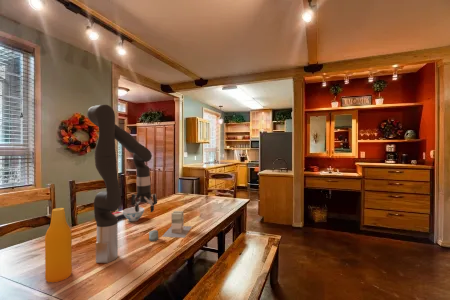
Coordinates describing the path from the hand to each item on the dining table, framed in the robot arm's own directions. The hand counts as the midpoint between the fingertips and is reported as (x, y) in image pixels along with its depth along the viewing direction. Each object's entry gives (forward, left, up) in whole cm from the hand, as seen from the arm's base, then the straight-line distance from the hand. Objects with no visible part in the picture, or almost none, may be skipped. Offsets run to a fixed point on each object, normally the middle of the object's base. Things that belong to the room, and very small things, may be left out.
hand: (144, 211), depth 132 cm
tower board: (+15, -15, -18) cm, 28 cm away
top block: (+15, -15, -10) cm, 23 cm away
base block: (+15, -15, -16) cm, 27 cm away
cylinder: (+1, -5, -18) cm, 19 cm away
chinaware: (+38, +26, -18) cm, 50 cm away
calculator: (+40, +42, -19) cm, 61 cm away
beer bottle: (-37, +21, -18) cm, 46 cm away
